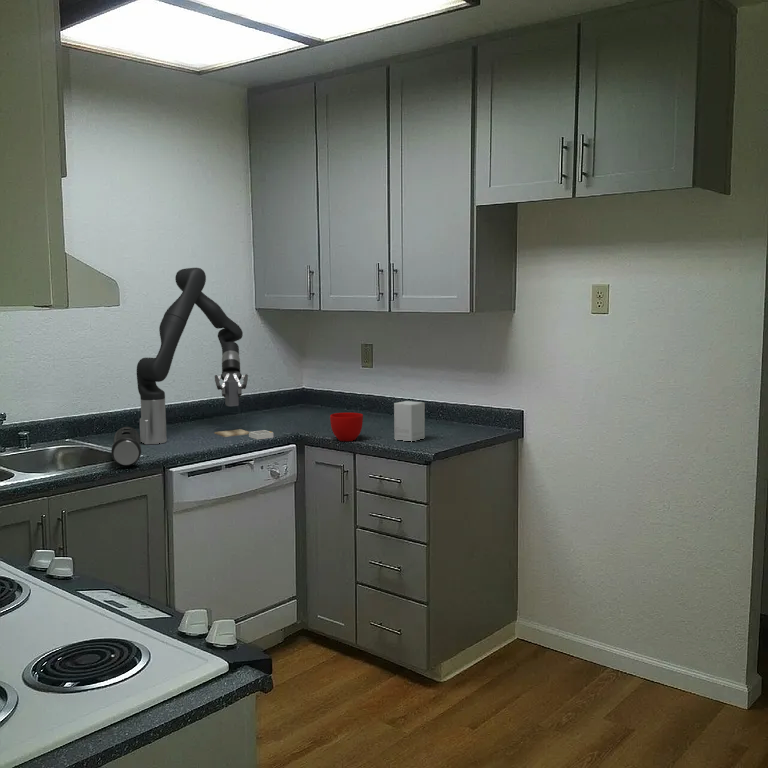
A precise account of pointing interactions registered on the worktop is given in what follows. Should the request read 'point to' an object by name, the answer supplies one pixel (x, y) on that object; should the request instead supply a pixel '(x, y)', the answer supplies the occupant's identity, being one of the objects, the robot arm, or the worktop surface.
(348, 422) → the ceramic cup
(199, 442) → the worktop surface
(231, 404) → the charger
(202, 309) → the robot arm
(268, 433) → the socket dock
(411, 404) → the supplement box
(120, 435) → the muzzle brake
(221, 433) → the oak board
